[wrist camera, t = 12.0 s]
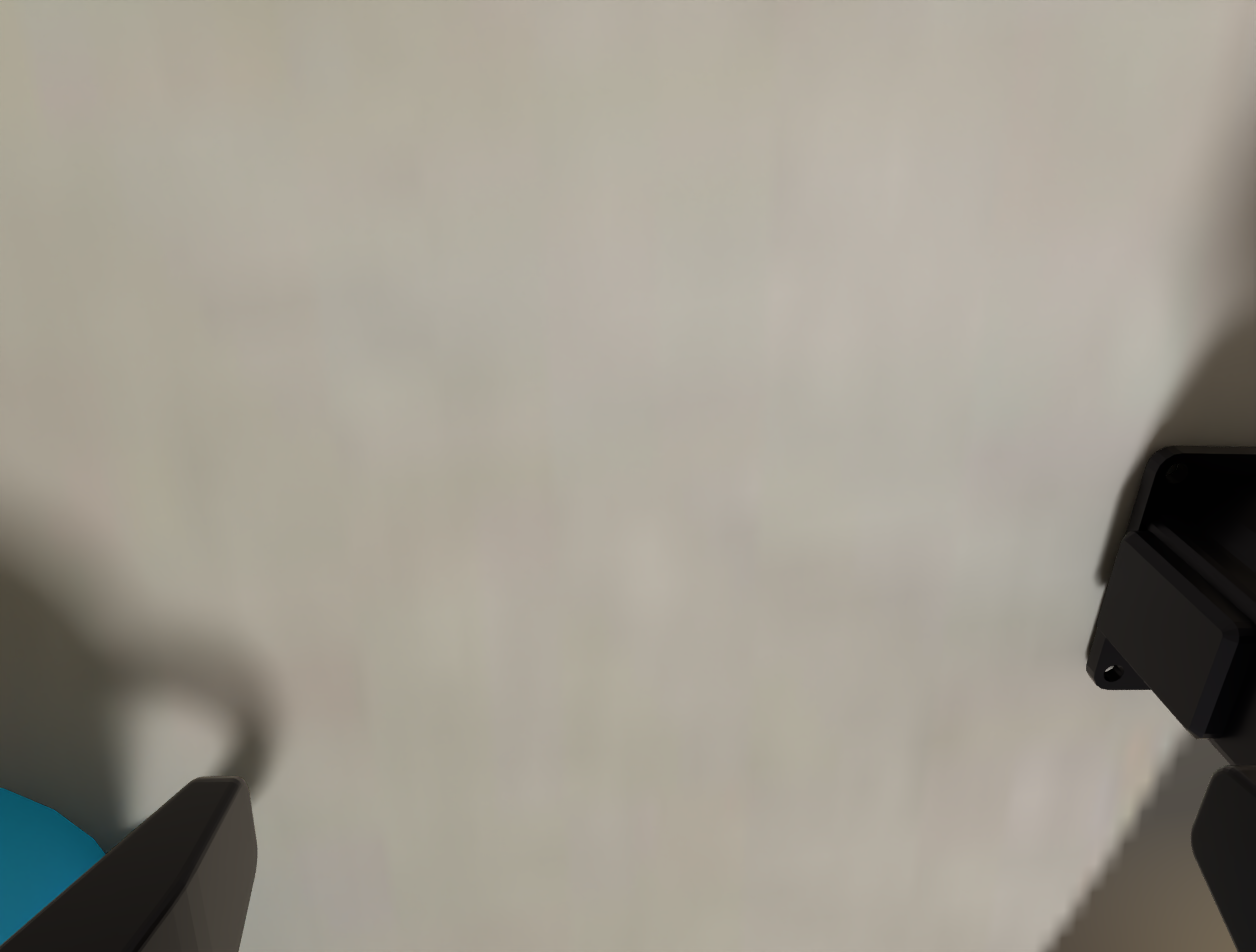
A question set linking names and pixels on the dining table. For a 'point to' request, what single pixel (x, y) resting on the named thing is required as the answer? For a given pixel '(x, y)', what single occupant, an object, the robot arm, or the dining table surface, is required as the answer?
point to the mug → (37, 858)
